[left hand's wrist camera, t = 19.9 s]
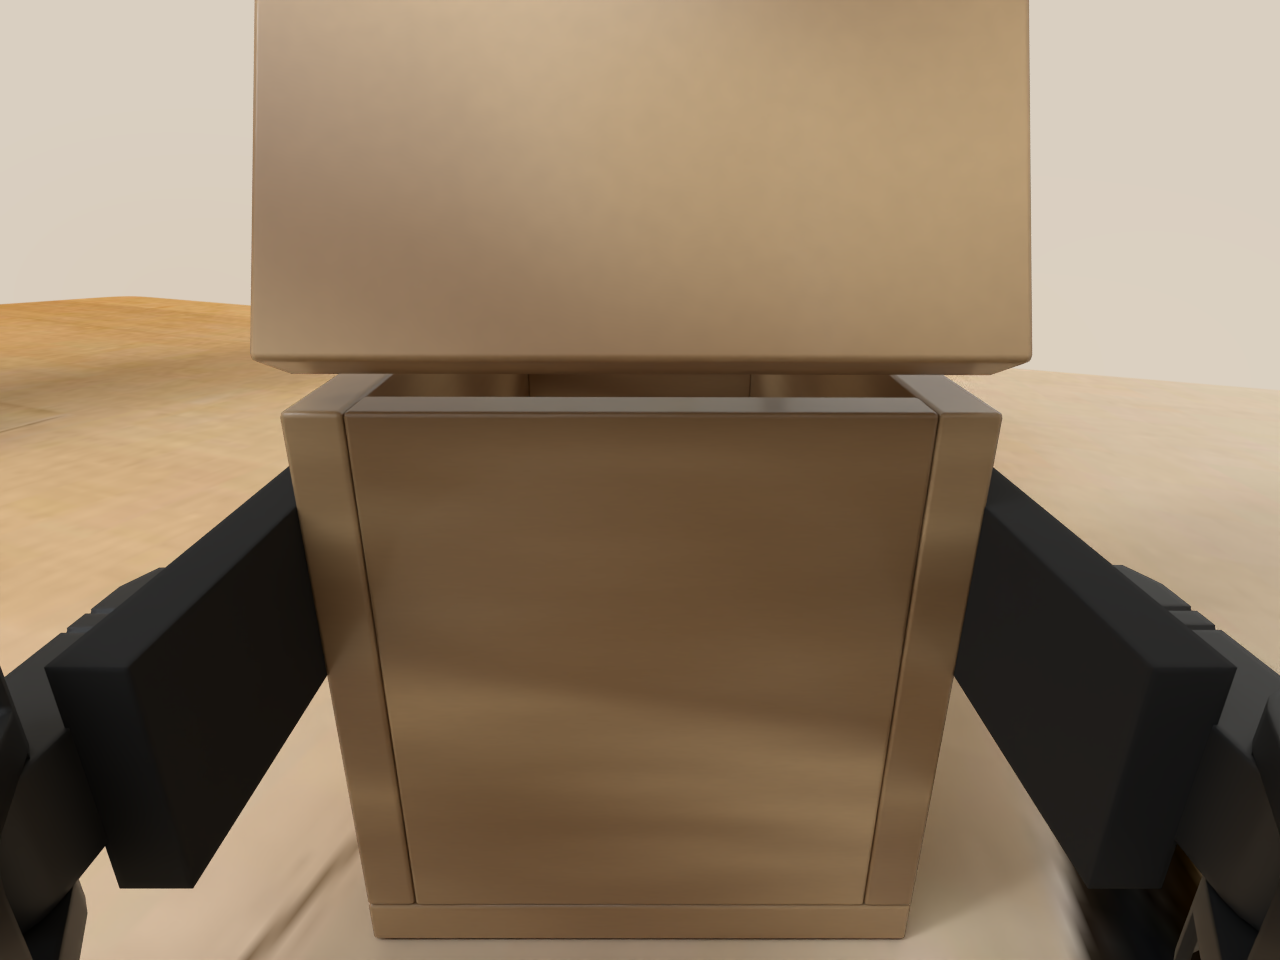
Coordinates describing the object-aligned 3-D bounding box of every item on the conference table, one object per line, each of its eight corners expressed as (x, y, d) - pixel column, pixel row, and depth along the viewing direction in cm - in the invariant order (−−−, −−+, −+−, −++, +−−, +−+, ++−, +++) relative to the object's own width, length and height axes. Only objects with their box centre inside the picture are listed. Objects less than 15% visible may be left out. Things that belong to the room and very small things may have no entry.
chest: (517, 523, 29) (501, 264, 25) (760, 523, 29) (778, 264, 25) (373, 939, 13) (276, 411, 10) (905, 940, 13) (1005, 413, 10)
